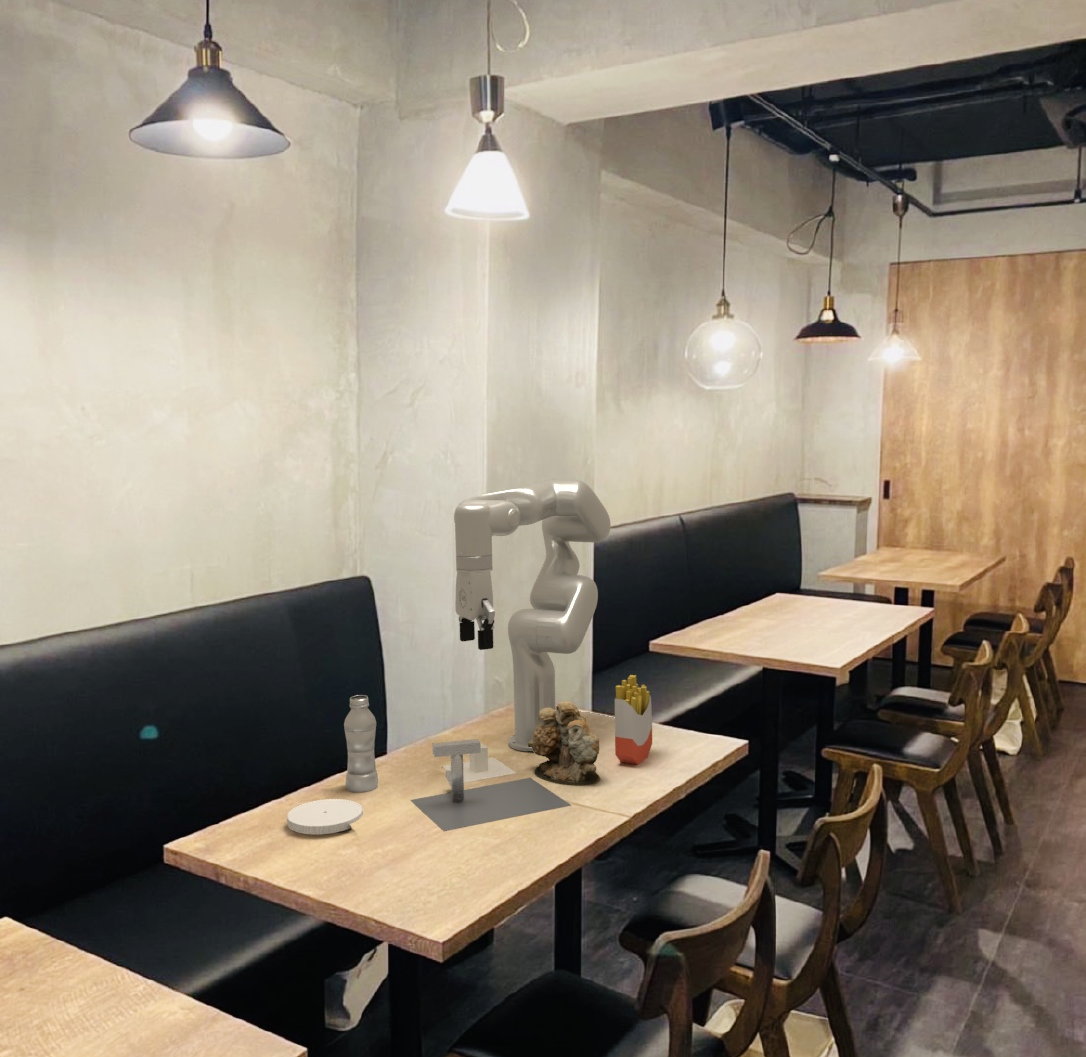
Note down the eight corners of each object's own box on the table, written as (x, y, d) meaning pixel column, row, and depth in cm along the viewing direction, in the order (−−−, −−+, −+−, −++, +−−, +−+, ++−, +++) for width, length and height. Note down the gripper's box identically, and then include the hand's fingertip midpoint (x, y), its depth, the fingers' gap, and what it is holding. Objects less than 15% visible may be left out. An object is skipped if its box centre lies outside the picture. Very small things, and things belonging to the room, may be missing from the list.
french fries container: (654, 753, 236) (653, 674, 234) (634, 768, 226) (633, 686, 225) (635, 751, 238) (634, 673, 236) (615, 765, 229) (614, 684, 227)
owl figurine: (513, 782, 220) (511, 701, 218) (548, 767, 229) (546, 690, 227) (583, 799, 209) (581, 714, 207) (617, 783, 218) (615, 701, 216)
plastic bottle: (339, 797, 213) (335, 699, 211) (360, 786, 219) (356, 691, 216) (365, 801, 210) (361, 703, 208) (385, 791, 216) (382, 695, 213)
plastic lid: (364, 808, 207) (363, 796, 206) (362, 836, 193) (362, 823, 193) (290, 814, 205) (290, 801, 204) (284, 842, 191) (283, 829, 191)
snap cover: (493, 766, 231) (492, 735, 231) (516, 782, 221) (516, 749, 220) (442, 775, 226) (441, 743, 225) (463, 792, 215) (462, 758, 215)
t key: (429, 789, 211) (427, 734, 209) (474, 784, 213) (472, 730, 212) (435, 803, 203) (434, 747, 202) (482, 798, 205) (480, 742, 204)
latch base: (530, 784, 218) (530, 777, 217) (571, 812, 202) (571, 805, 201) (410, 807, 206) (410, 799, 206) (444, 839, 190) (443, 831, 190)
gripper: (442, 560, 225) (444, 639, 227) (473, 569, 209) (476, 654, 211) (474, 557, 228) (476, 635, 230) (508, 566, 213) (510, 650, 214)
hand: (476, 644), depth 220 cm, fingers open, 9 cm apart
